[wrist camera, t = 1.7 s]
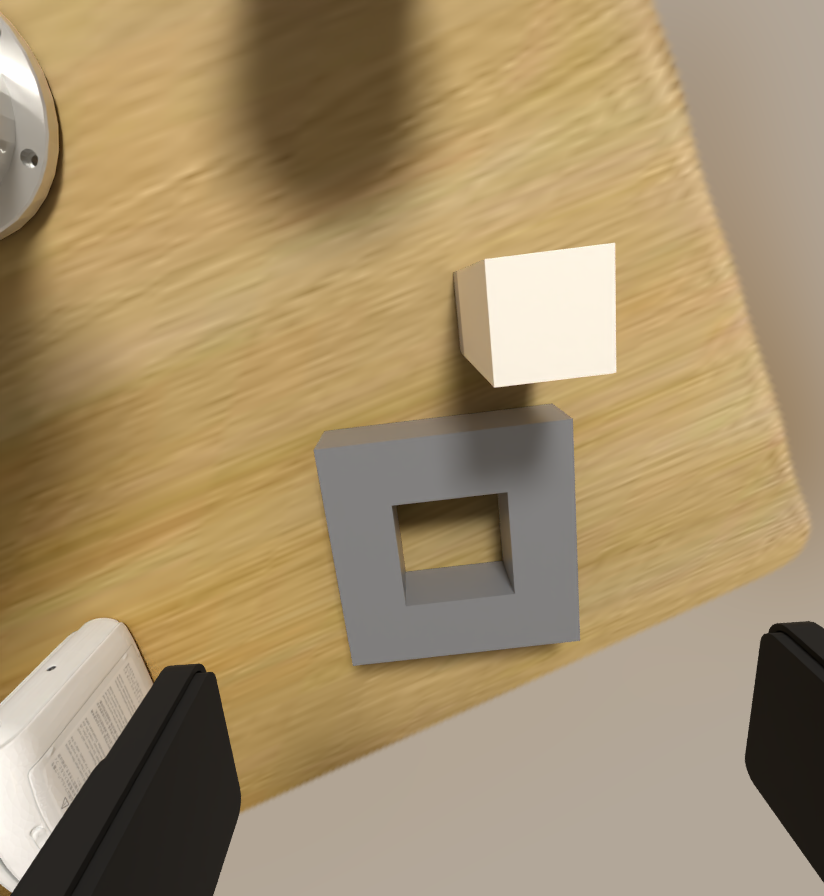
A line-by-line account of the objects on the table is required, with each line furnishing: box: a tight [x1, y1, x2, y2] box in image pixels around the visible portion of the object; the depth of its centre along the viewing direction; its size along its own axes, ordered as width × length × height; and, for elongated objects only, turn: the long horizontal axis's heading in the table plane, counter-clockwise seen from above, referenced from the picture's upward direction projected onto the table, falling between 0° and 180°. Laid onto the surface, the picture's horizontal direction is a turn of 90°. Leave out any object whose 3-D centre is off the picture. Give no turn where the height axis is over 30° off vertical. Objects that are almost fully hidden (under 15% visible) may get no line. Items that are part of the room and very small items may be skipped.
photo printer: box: [0, 618, 153, 892], centre depth 31 cm, size 10×4×12 cm, turn 13°
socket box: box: [314, 404, 580, 666], centre depth 32 cm, size 14×14×4 cm
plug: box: [453, 243, 616, 388], centre depth 24 cm, size 4×4×12 cm
